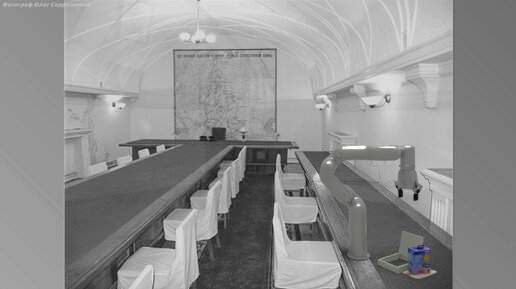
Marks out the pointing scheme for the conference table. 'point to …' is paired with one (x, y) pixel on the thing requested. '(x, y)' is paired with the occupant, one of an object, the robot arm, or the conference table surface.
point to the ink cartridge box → (419, 260)
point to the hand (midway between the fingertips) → (408, 198)
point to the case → (401, 252)
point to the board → (419, 274)
